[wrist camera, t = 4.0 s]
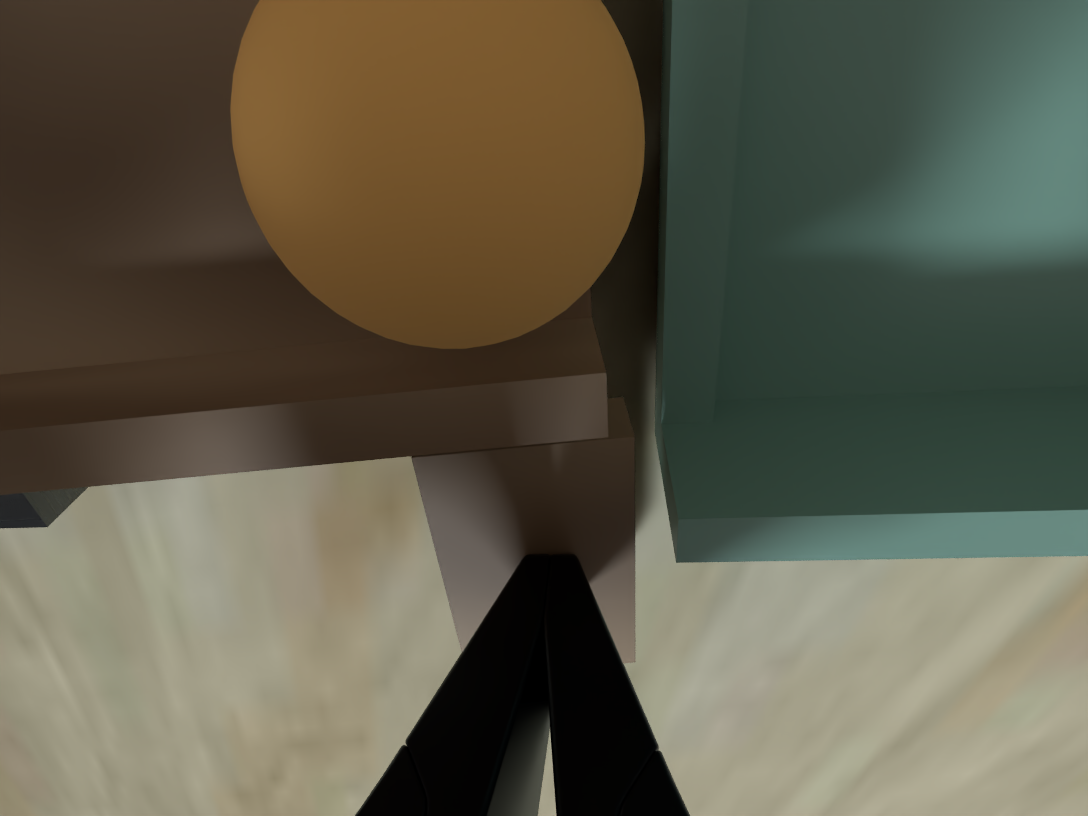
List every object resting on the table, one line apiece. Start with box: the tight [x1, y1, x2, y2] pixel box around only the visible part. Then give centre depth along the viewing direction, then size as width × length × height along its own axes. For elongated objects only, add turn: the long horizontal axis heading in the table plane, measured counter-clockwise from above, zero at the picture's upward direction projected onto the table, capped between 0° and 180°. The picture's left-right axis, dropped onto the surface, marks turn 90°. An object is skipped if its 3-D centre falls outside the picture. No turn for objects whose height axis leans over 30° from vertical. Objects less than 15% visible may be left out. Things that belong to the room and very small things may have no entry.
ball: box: [230, 0, 645, 349], centre depth 5 cm, size 3×3×3 cm
